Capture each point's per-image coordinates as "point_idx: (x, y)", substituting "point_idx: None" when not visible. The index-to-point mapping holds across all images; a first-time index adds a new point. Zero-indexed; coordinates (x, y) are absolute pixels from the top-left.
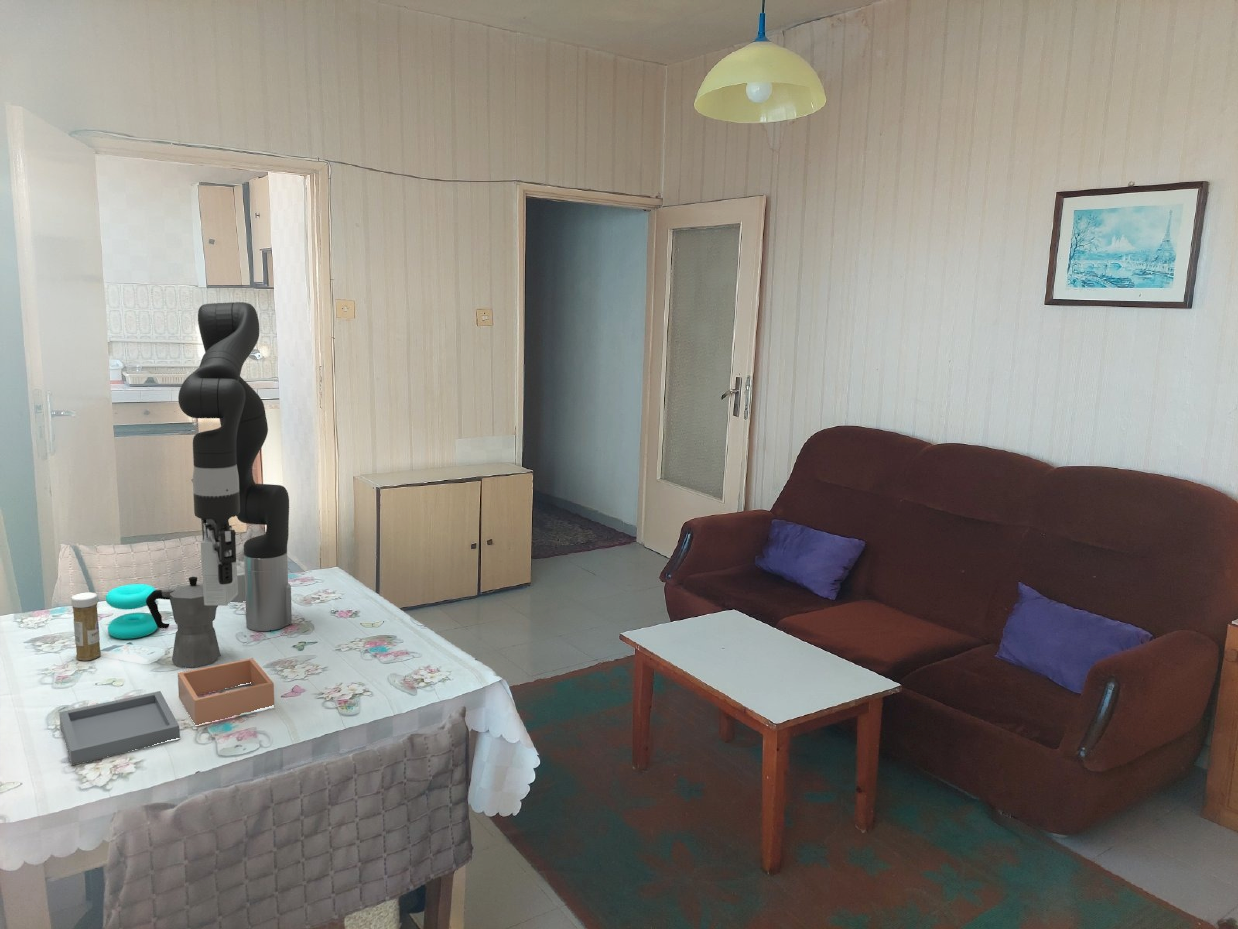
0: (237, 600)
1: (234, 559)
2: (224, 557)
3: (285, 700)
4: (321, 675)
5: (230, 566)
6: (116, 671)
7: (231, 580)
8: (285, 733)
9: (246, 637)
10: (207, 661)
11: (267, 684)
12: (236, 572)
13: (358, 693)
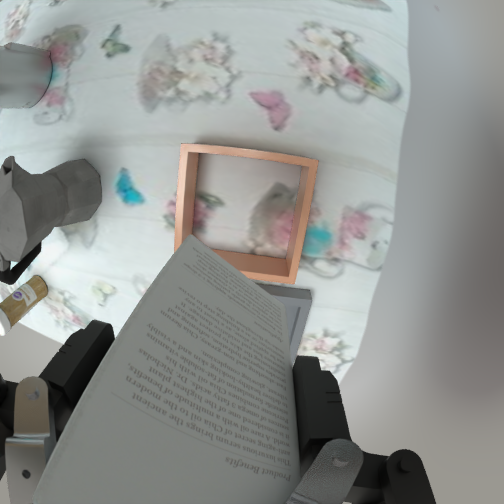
0: None
1: (416, 467)
2: (384, 501)
3: (294, 132)
4: (241, 50)
5: (349, 434)
6: (77, 278)
7: (318, 364)
8: (388, 185)
9: (49, 112)
10: (97, 183)
11: (315, 171)
12: (166, 285)
13: (342, 45)
